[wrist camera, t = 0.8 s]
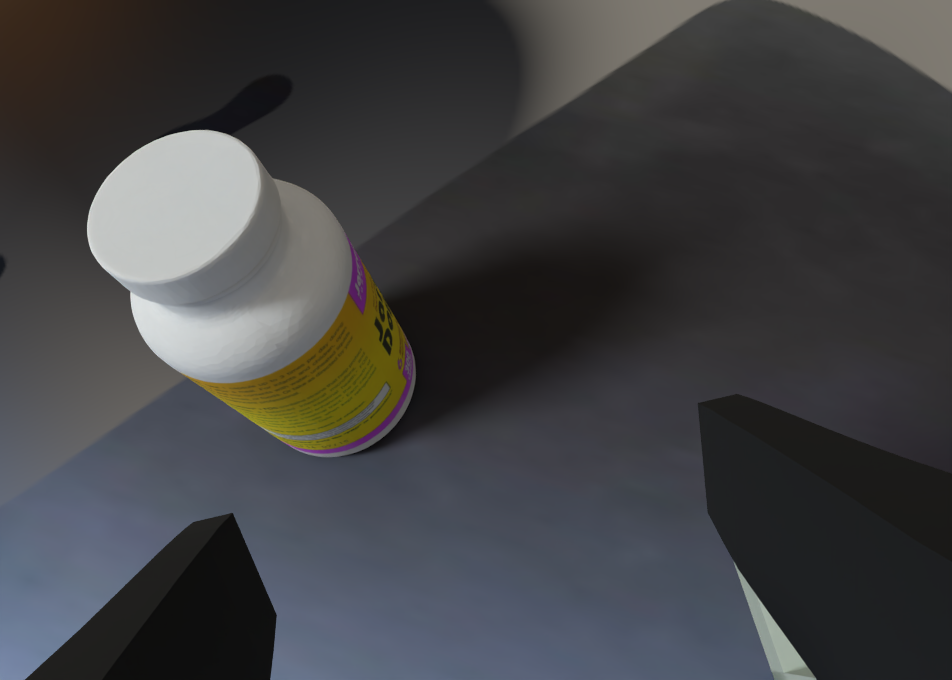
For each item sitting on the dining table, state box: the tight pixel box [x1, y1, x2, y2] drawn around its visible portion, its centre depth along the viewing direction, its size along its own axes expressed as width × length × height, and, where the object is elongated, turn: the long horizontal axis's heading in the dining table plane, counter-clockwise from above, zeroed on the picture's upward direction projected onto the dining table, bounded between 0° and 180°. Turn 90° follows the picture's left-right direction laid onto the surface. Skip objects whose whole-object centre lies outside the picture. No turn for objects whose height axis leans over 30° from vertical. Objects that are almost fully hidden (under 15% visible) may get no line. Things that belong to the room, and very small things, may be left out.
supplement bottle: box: [87, 130, 416, 457], centre depth 22 cm, size 7×7×13 cm
